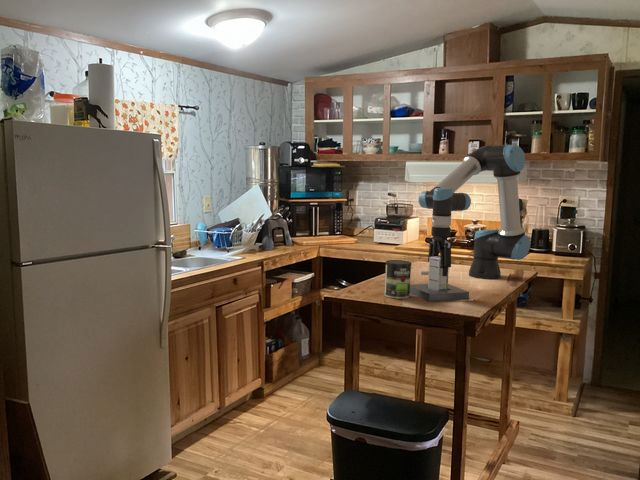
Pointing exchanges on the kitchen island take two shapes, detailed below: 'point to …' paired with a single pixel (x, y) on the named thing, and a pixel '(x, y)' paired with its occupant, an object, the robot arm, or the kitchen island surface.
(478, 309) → the kitchen island surface
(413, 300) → the kitchen island surface
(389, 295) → the coffee can
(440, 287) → the syrup box
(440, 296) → the square hole plate
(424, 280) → the kitchen island surface
